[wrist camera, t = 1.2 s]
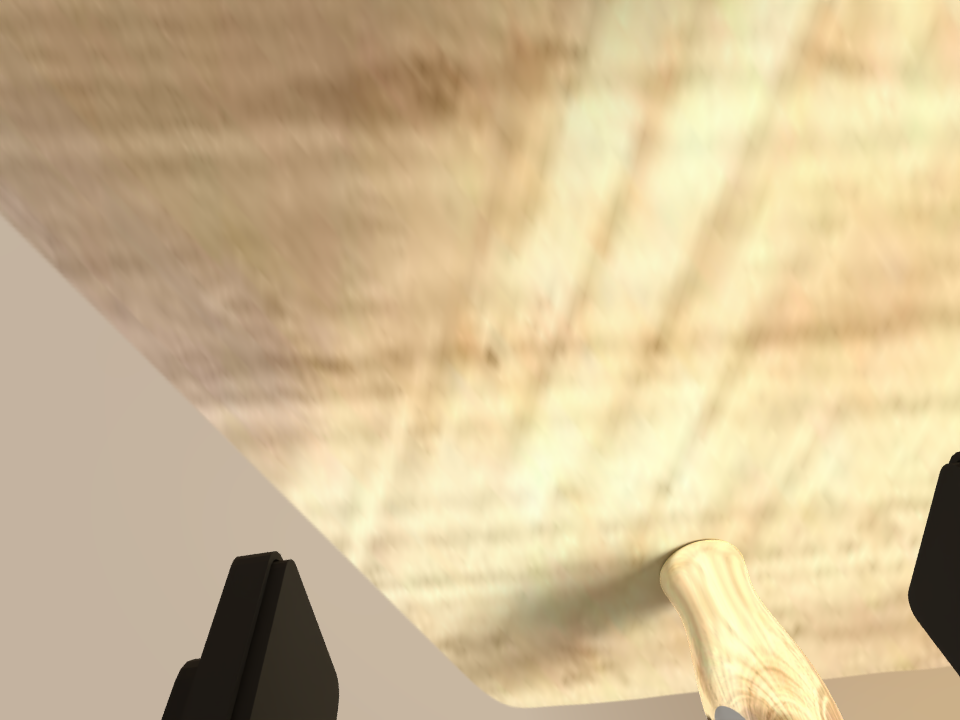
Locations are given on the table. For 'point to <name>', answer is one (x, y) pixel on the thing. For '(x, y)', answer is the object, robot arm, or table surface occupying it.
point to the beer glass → (739, 641)
